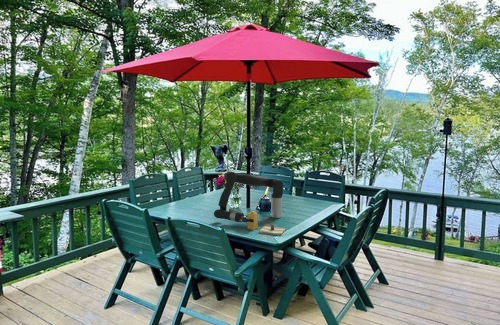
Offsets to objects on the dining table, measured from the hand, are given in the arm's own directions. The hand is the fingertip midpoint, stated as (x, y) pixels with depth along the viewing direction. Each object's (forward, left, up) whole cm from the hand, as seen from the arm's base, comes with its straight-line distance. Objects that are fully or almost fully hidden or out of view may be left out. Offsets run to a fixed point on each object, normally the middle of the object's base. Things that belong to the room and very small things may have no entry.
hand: (255, 219), depth 253 cm
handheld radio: (-26, -29, -8) cm, 40 cm away
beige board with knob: (+2, +14, -7) cm, 16 cm away
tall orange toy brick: (0, -2, -7) cm, 7 cm away
